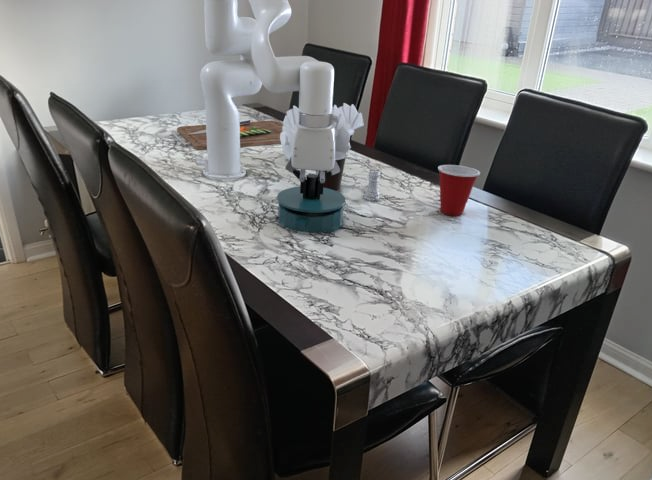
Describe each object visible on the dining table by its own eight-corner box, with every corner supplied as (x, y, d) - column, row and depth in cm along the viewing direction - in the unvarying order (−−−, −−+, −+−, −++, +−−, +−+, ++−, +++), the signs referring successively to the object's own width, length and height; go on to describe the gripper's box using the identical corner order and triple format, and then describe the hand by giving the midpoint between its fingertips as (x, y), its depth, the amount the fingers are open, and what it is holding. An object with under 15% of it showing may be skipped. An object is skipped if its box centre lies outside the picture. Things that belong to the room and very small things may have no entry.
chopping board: (188, 151, 189) (188, 141, 188) (168, 130, 210) (167, 122, 208) (311, 140, 208) (311, 132, 207) (281, 123, 229) (281, 115, 227)
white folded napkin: (277, 171, 189) (343, 160, 199) (299, 163, 173) (369, 151, 183) (265, 115, 186) (332, 106, 196) (287, 101, 170) (358, 92, 181)
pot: (267, 233, 136) (267, 215, 133) (291, 203, 154) (292, 187, 151) (331, 243, 133) (332, 225, 131) (348, 211, 151) (350, 194, 149)
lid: (268, 209, 135) (268, 182, 132) (288, 187, 149) (288, 161, 146) (337, 219, 132) (339, 191, 129) (350, 195, 146) (352, 169, 143)
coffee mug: (340, 196, 160) (343, 161, 155) (310, 192, 161) (311, 157, 156) (347, 183, 170) (349, 149, 165) (318, 179, 171) (320, 146, 166)
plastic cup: (474, 208, 157) (482, 165, 151) (469, 222, 148) (478, 177, 142) (434, 201, 160) (441, 159, 154) (427, 215, 151) (434, 170, 145)
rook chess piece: (368, 202, 157) (371, 173, 153) (360, 196, 161) (363, 168, 157) (382, 200, 159) (385, 172, 155) (374, 194, 162) (376, 167, 159)
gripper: (350, 118, 134) (344, 193, 143) (280, 114, 134) (279, 189, 143) (351, 125, 128) (345, 204, 137) (277, 122, 128) (276, 200, 137)
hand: (311, 196), depth 140 cm, fingers closed on lid, 2 cm apart
